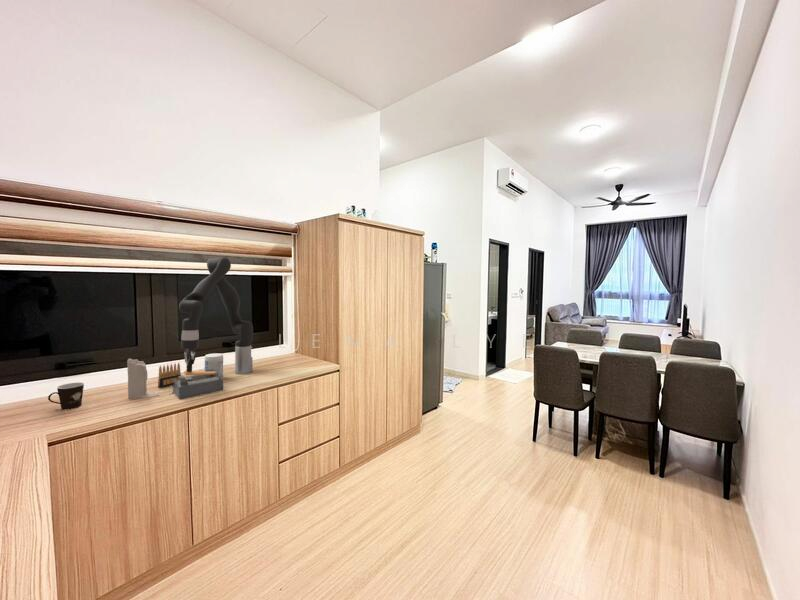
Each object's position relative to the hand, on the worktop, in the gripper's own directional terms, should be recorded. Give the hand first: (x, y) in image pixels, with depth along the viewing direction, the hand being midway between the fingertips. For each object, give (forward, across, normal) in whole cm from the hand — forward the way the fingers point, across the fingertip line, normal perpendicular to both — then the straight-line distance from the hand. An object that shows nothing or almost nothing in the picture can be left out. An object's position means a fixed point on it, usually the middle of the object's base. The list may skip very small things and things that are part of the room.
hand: (189, 371), depth 169 cm
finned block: (+11, 0, -5) cm, 12 cm away
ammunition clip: (+12, +20, +4) cm, 24 cm away
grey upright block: (+12, +9, +16) cm, 22 cm away
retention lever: (+2, 0, -5) cm, 6 cm away
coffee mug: (+13, +13, +44) cm, 48 cm away
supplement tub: (+11, +16, -17) cm, 26 cm away
